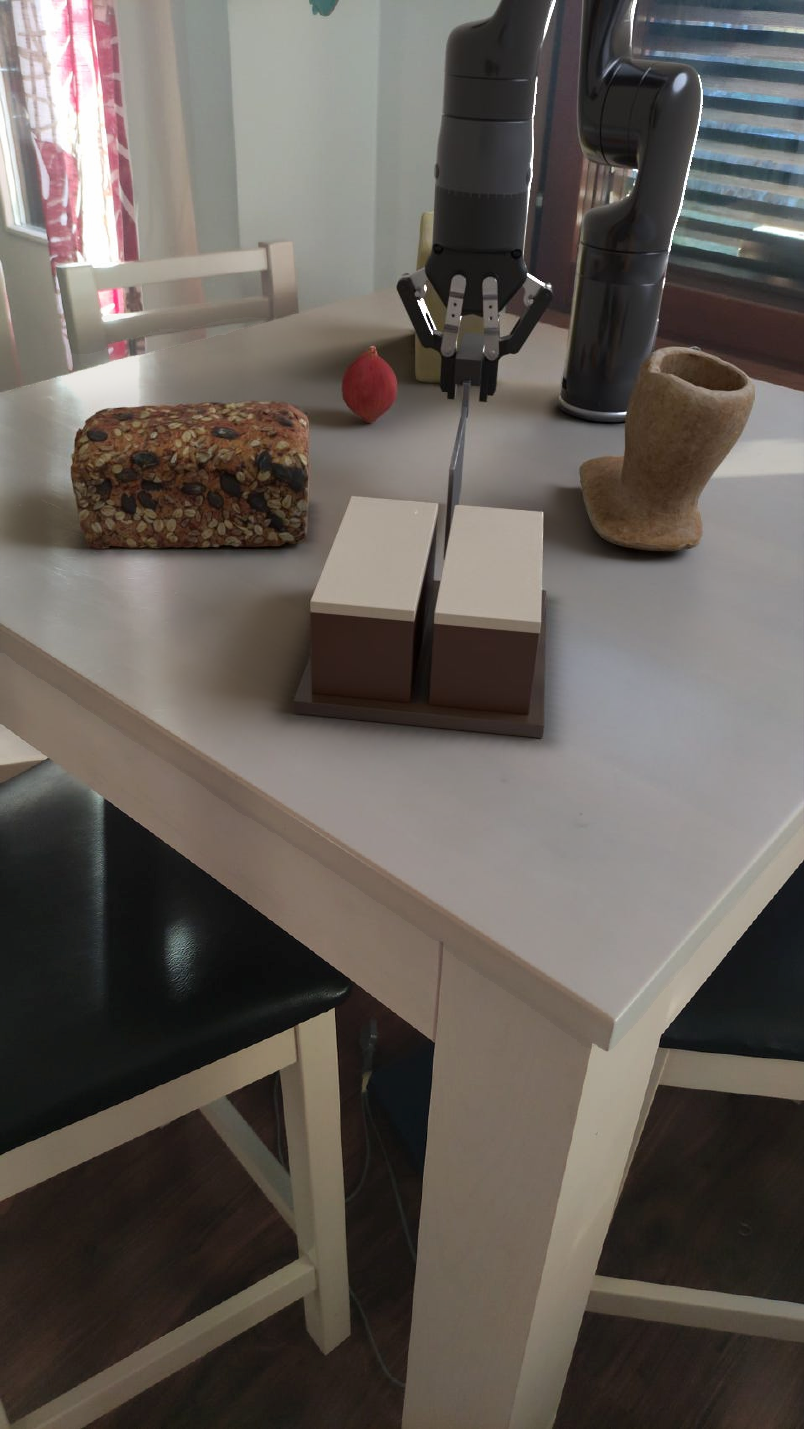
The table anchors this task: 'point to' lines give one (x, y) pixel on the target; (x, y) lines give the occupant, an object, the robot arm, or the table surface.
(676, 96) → the robot arm
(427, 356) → the cheese
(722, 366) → the stone cup
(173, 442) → the bread
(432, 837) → the table surface
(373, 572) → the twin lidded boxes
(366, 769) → the table surface
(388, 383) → the onion
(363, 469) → the table surface
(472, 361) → the knife
